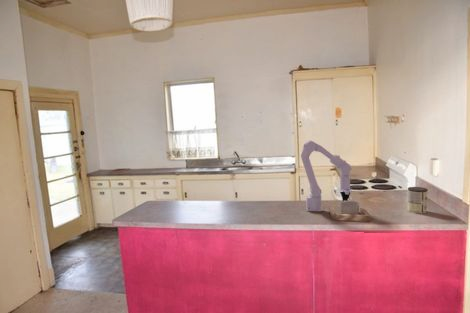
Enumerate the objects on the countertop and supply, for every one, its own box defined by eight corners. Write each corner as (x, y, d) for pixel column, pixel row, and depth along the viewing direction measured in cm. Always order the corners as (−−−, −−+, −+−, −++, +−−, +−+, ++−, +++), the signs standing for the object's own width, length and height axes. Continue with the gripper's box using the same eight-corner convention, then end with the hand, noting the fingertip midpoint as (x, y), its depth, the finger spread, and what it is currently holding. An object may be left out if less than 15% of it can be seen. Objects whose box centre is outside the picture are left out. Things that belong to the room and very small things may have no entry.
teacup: (360, 219, 178) (361, 205, 177) (340, 218, 180) (340, 204, 179) (355, 212, 192) (356, 199, 191) (337, 211, 194) (337, 199, 193)
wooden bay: (333, 220, 177) (333, 215, 177) (329, 211, 194) (329, 207, 194) (370, 221, 174) (370, 215, 174) (363, 212, 191) (363, 207, 190)
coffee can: (407, 208, 197) (407, 186, 196) (426, 210, 193) (426, 187, 191) (407, 212, 188) (407, 189, 187) (427, 214, 184) (428, 190, 182)
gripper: (354, 184, 187) (354, 206, 188) (349, 179, 201) (349, 200, 203) (342, 184, 188) (341, 206, 190) (338, 179, 202) (338, 200, 204)
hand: (345, 203), depth 196 cm, fingers closed
